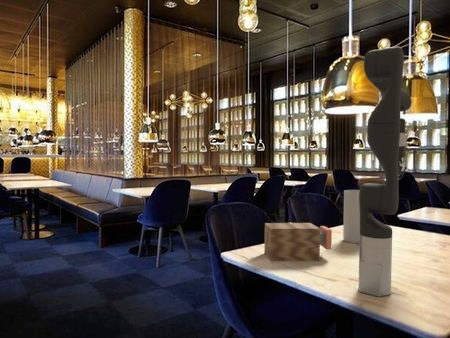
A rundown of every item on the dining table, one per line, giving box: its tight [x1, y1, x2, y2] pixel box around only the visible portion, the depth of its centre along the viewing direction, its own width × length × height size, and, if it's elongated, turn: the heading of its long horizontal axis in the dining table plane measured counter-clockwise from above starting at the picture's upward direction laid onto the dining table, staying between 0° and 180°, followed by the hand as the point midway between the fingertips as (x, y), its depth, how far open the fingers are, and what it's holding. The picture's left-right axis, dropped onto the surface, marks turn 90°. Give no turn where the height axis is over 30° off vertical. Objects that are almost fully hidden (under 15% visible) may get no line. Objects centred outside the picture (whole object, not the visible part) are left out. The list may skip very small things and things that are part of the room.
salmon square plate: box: [319, 225, 333, 250], centre depth 144 cm, size 20×8×8 cm, turn 94°
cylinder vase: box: [342, 189, 360, 245], centre depth 172 cm, size 12×12×25 cm
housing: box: [264, 221, 321, 262], centre depth 143 cm, size 20×12×13 cm, turn 94°
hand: (393, 189), depth 135 cm, fingers closed
